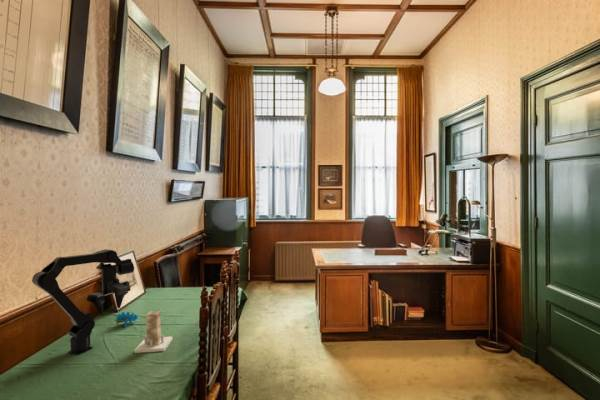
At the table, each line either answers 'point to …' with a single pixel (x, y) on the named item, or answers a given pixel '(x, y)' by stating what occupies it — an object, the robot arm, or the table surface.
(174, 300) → the table surface
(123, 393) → the table surface
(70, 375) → the table surface
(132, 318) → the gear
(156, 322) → the maple block
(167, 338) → the pin plate
